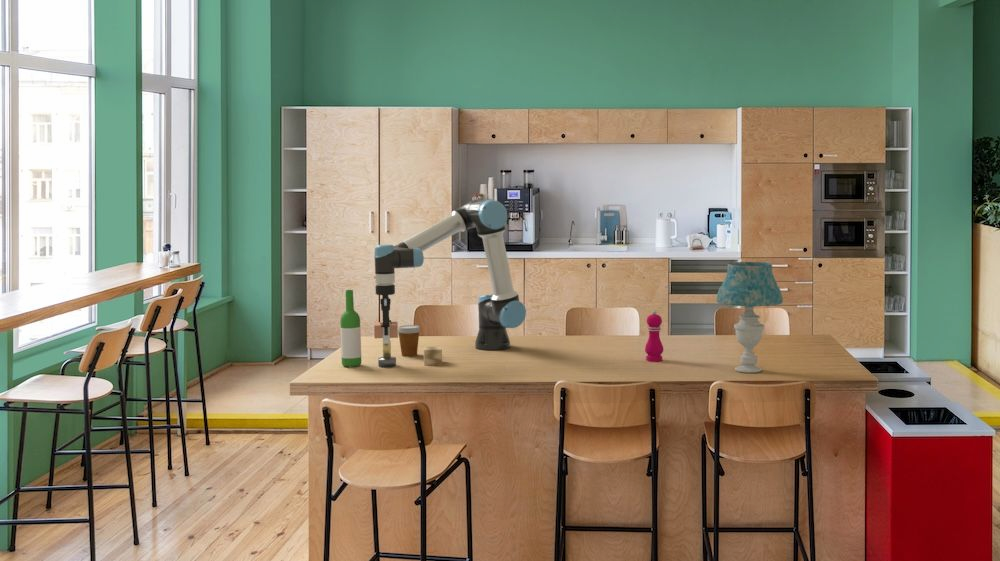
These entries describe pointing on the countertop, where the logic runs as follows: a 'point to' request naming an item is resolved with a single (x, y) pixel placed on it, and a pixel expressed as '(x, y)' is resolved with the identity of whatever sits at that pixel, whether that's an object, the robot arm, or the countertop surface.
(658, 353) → the pepper mill
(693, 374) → the countertop surface
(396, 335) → the square frame block
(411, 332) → the disposable coffee cup
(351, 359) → the wine bottle
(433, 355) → the stand
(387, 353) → the light bulb
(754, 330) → the table lamp
